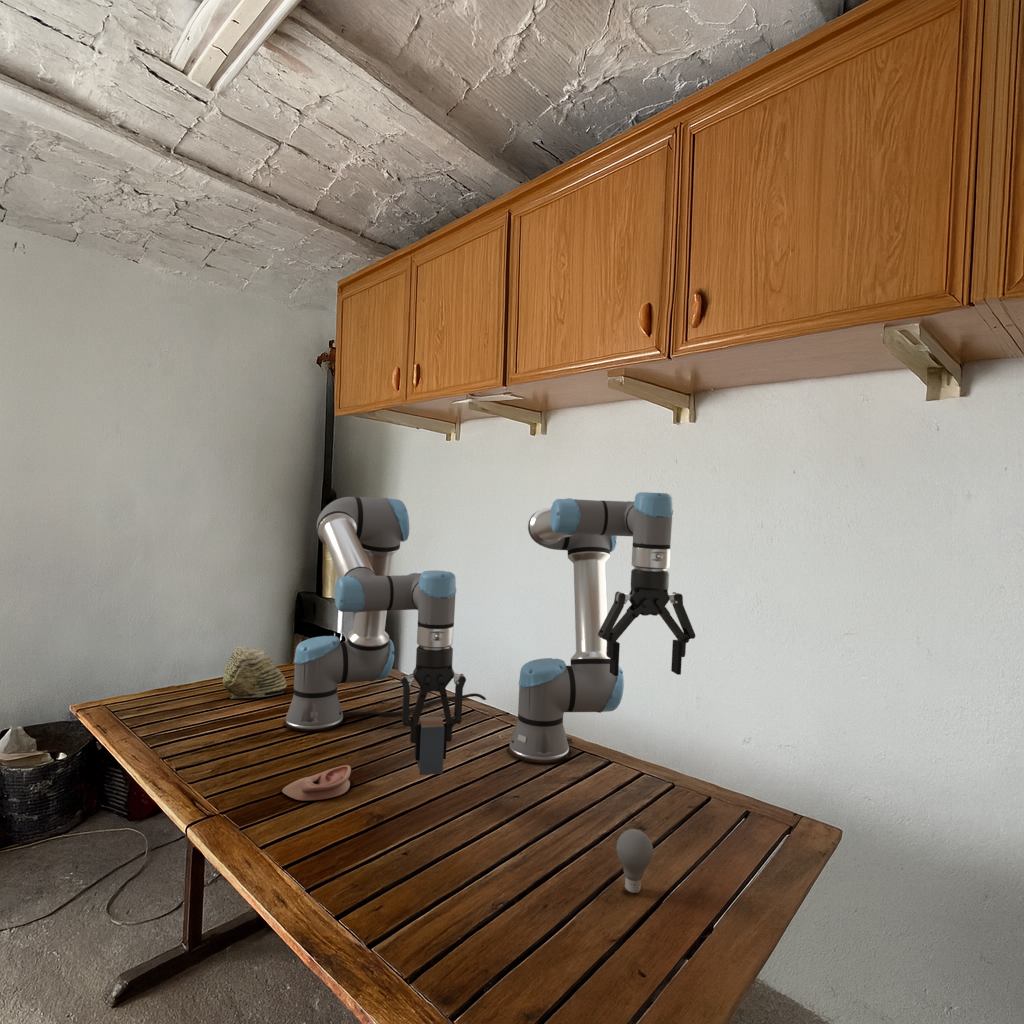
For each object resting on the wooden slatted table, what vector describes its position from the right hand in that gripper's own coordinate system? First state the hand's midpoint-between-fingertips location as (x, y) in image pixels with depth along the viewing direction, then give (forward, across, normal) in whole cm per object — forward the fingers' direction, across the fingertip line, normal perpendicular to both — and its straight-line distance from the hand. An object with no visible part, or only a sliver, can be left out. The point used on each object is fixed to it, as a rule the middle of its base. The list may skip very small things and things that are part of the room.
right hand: (645, 673), depth 128 cm
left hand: (+20, -41, +13) cm, 48 cm away
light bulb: (+30, -11, -21) cm, 39 cm away
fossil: (+30, -88, +92) cm, 131 cm away
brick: (+23, -41, +13) cm, 49 cm away
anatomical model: (+30, -64, +23) cm, 75 cm away
